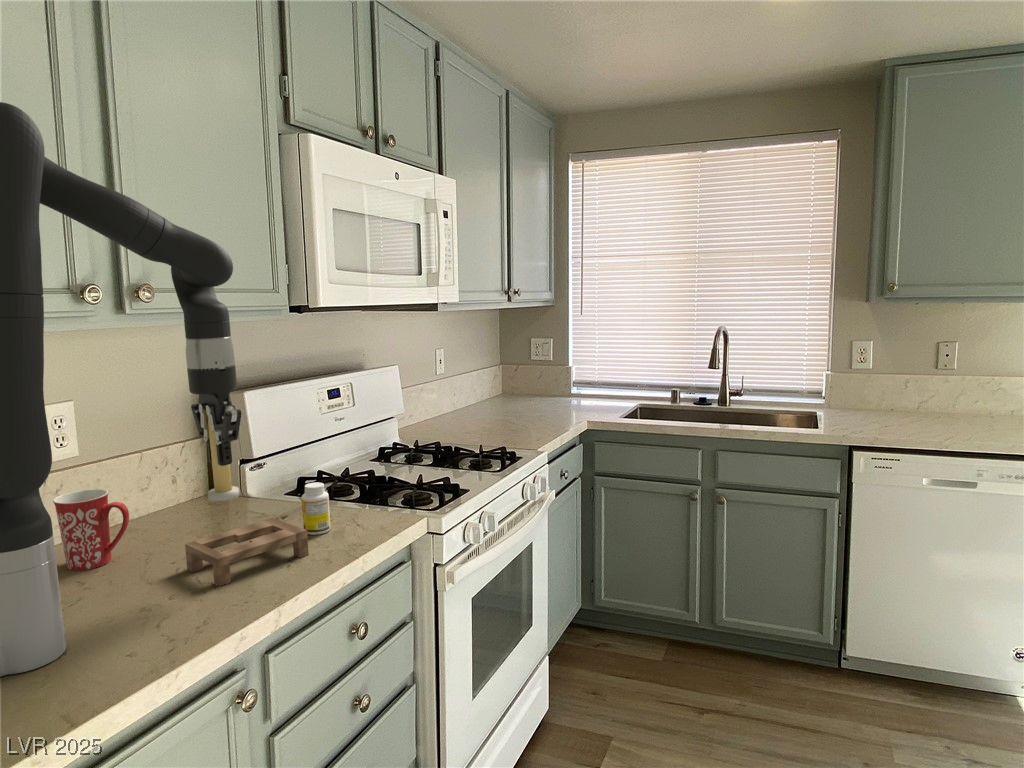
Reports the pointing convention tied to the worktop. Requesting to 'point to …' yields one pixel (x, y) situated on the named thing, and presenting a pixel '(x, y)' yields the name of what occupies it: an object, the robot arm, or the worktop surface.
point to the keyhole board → (244, 546)
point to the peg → (220, 475)
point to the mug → (87, 527)
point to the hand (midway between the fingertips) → (220, 462)
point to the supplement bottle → (316, 509)
